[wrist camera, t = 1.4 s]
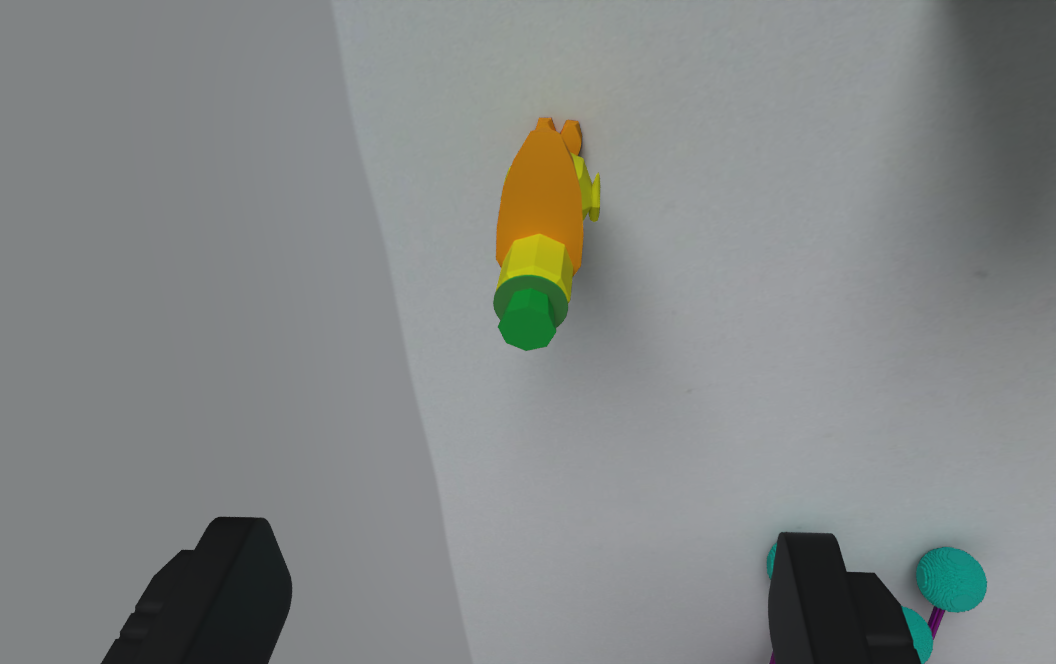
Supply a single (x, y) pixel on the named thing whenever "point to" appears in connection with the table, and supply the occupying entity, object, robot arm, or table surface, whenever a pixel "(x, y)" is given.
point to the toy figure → (542, 233)
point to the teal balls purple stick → (936, 591)
